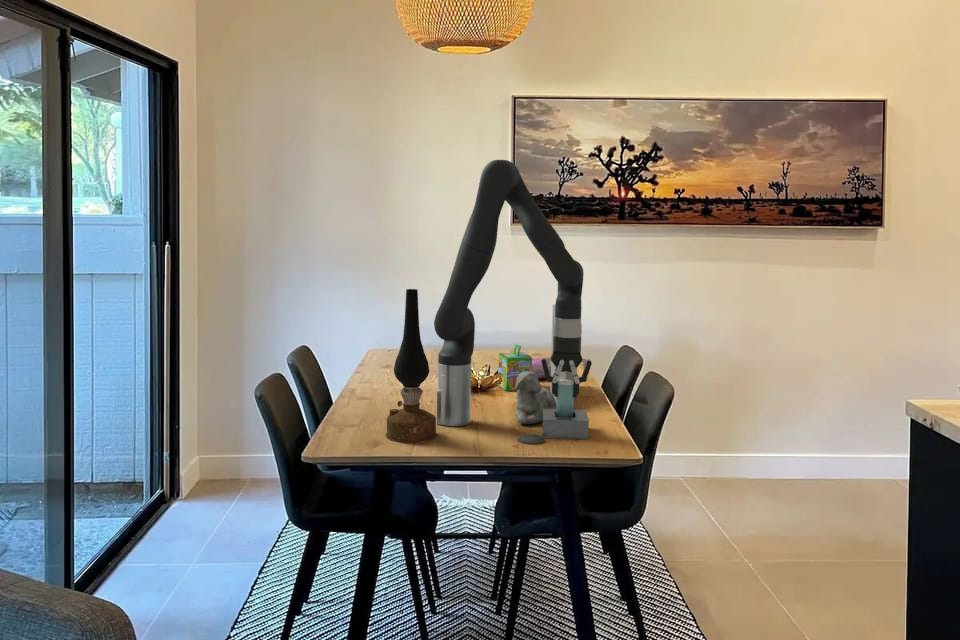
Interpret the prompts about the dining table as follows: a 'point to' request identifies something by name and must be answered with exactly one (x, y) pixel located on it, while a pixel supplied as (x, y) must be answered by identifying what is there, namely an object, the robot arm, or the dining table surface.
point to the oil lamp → (411, 383)
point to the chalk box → (512, 367)
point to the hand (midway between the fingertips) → (565, 396)
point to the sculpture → (532, 399)
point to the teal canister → (565, 398)
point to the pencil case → (539, 368)
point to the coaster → (531, 439)
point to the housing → (565, 425)
